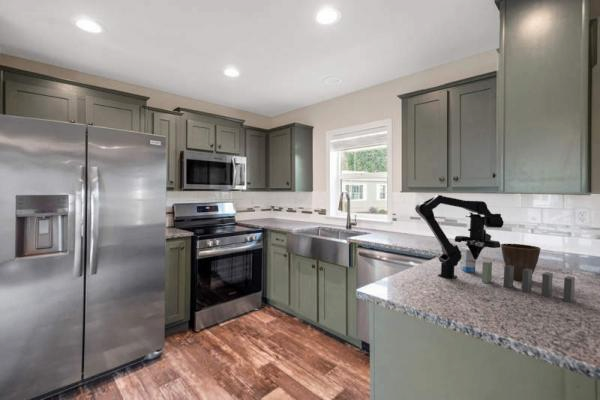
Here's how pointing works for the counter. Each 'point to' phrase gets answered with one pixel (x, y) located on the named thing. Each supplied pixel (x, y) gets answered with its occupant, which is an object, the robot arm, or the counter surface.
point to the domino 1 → (508, 276)
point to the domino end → (569, 289)
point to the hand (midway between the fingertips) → (475, 259)
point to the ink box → (467, 260)
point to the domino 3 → (547, 284)
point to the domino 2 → (527, 280)
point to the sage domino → (486, 271)
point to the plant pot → (520, 257)
